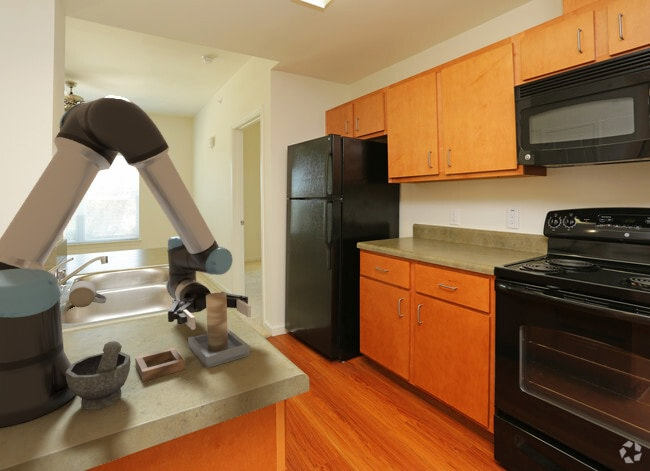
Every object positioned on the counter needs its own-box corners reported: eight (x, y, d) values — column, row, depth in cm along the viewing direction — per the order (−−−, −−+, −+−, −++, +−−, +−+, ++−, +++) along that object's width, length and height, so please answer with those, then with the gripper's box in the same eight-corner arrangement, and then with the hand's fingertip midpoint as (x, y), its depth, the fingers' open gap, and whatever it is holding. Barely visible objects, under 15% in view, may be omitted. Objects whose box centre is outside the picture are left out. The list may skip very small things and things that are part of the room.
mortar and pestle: (60, 403, 62) (54, 339, 61) (114, 380, 70) (110, 323, 69) (90, 425, 56) (85, 355, 55) (146, 397, 64) (143, 335, 63)
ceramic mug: (68, 310, 113) (67, 287, 112) (70, 303, 120) (69, 281, 119) (107, 305, 119) (106, 283, 118) (106, 299, 125) (105, 278, 125)
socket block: (143, 381, 70) (142, 371, 70) (135, 365, 76) (135, 357, 76) (184, 369, 75) (184, 360, 74) (174, 355, 81) (174, 347, 81)
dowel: (212, 354, 80) (209, 299, 79) (205, 347, 84) (203, 294, 82) (231, 348, 83) (229, 295, 81) (223, 342, 87) (222, 291, 85)
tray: (207, 368, 75) (206, 357, 75) (188, 347, 85) (188, 337, 85) (249, 355, 81) (249, 345, 81) (227, 337, 92) (227, 328, 91)
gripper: (235, 300, 104) (270, 321, 87) (145, 318, 89) (166, 346, 73) (235, 276, 103) (270, 292, 87) (143, 289, 89) (164, 312, 72)
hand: (222, 317), depth 80 cm, fingers open, 12 cm apart
